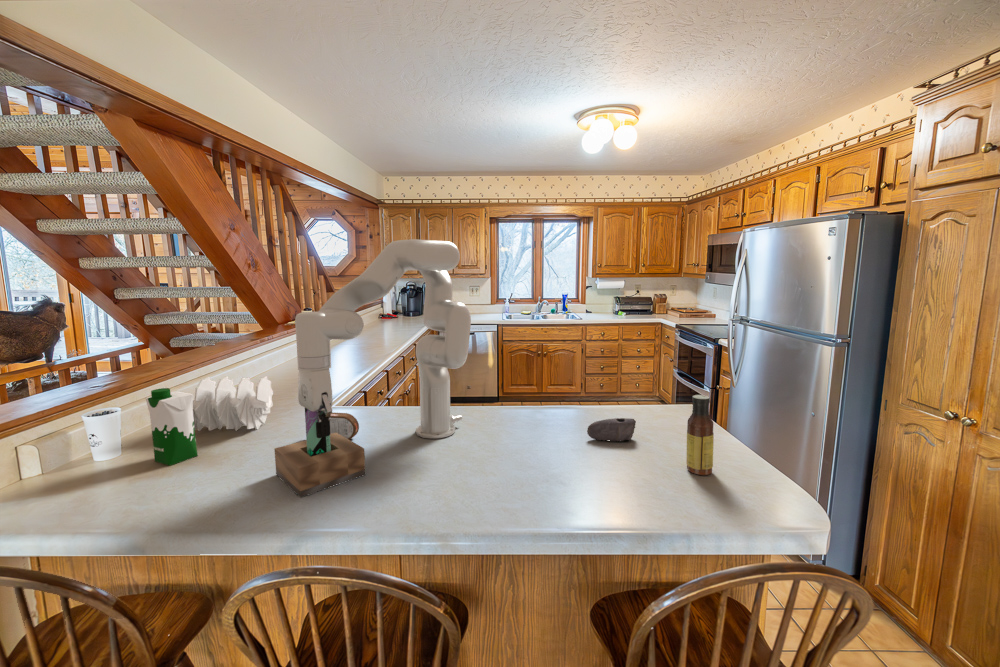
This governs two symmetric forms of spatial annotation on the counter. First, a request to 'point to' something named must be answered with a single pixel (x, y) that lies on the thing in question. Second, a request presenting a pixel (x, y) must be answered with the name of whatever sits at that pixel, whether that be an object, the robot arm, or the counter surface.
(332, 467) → the socket block
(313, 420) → the spray can
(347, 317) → the robot arm
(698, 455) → the sauce bottle
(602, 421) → the perforated stone tool
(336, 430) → the tin
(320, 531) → the counter surface
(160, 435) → the milk carton
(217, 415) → the spiral staircase
